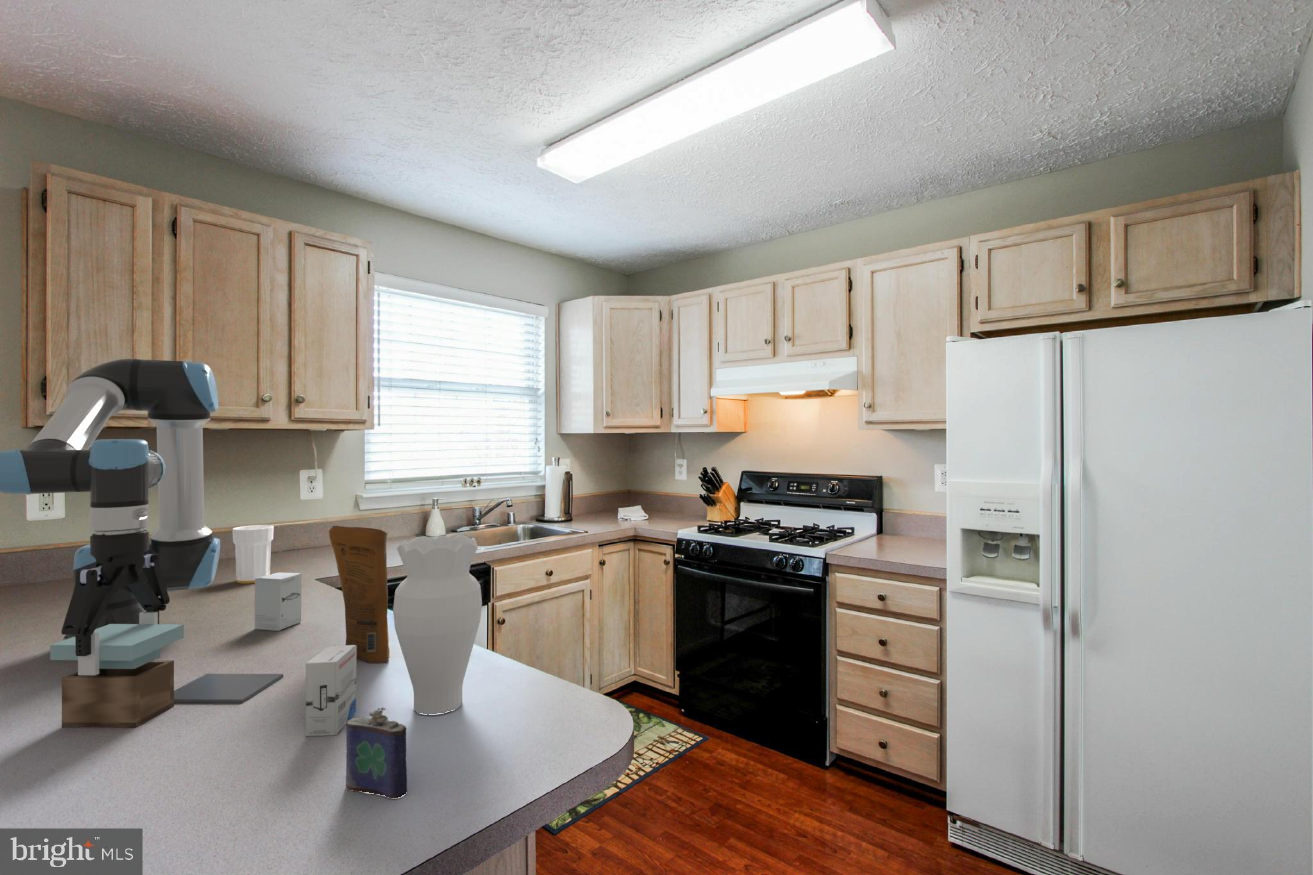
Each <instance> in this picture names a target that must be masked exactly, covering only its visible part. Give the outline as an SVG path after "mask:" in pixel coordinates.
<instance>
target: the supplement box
mask: <svg viewBox="0 0 1313 875" xmlns="http://www.w3.org/2000/svg"><path fill="white" fill-rule="evenodd" d="M301 623H302V573H301V572H275V573H272V574H271V573H270V575H266V576H262V577H258V578H255V583H254V630H262V631H272V632H273V631H276V632H279V631H282V630H283V629H286V628H289V627H292V626H294V625H298V624H301Z"/></svg>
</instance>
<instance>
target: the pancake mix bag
mask: <svg viewBox="0 0 1313 875" xmlns="http://www.w3.org/2000/svg"><path fill="white" fill-rule="evenodd" d="M328 536H329V539H330V544H331V548H332V550H333V553H334V554H333V555H334V558H335V562H336V568H337V572H338V576H339V582H340V586H341V591H342V597H343V604H344V619H345V635H346V636H345V645H355V646H356V647H357V648H356V659H358V660H361V661H363V662H365V663H368V664H383V663H389V662H390V660H389V659H390V646H389V641H390V638H389V636H390V635H389V626H388V622H389V621H388V610H389V609H388V605H389V603H388V602H389V589H388V570H387V568H388V566H387V558H388V557H387V554H388V553H387V537H388V532H386V531H384V530H382V529H378V528H373V527H362V526H361V527H359V526H352V527H351V526H349V527H348V526H341V525H332V526H331V528H330V529H329V530H328Z"/></svg>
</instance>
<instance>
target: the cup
mask: <svg viewBox="0 0 1313 875" xmlns="http://www.w3.org/2000/svg"><path fill="white" fill-rule="evenodd" d="M231 530H232V543H233V544H234V547H235V548H234V551H235V576H236V578H235V579H236V580H235V581H236V583H238V584H247V585H248V584H255V578H258V577H262V576H266V575H270V574H271V559H272V558H271V555H272V554H271V552H272V551H271V550H272V541H273V540H274V530H275V527H274V525H271V524H252V525H243V526H238V527H233V528H232V529H231Z"/></svg>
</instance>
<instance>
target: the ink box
mask: <svg viewBox="0 0 1313 875" xmlns="http://www.w3.org/2000/svg"><path fill="white" fill-rule="evenodd" d="M356 648H357V647H356V646H355V645H329V646H327V647H326V648H324V649H322V651H320V652H319V653H317V654H316V655H315V656H313V657H312V658H311V659H310V660H308V661H307V662H306V663H305V736H306V737H318V736H319V737H320V736H321V737H322V736H323V737H325V736H336V735H337V734H338V733H339V732H340V731H341V730H342V729H343V728H344V727H345V726H346V722H348V721H349V720H351V719H352V717H353V715H354V714H355V713H356V709H357V708H356V707H357V706H356V703H357V658H356Z"/></svg>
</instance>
